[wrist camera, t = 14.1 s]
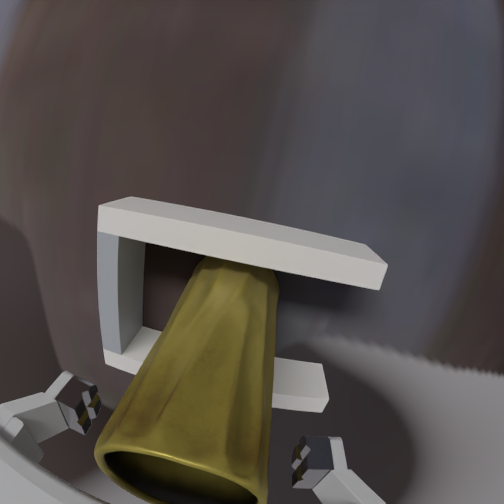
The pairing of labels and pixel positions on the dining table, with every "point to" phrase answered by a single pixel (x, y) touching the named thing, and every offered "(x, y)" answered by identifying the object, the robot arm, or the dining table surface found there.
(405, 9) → the dining table surface
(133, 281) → the bracket
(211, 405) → the vase
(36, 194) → the dining table surface
